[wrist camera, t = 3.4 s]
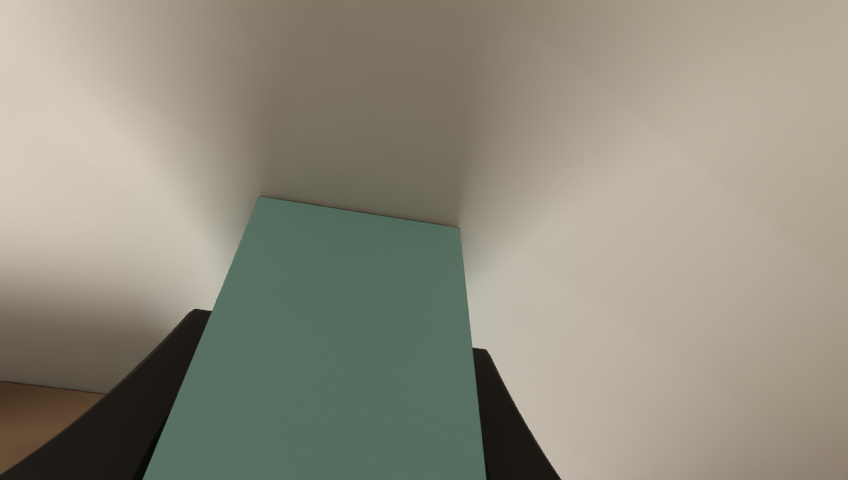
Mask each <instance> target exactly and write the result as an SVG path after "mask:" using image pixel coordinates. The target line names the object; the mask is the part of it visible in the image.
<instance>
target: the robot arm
mask: <svg viewBox="0 0 848 480" xmlns="http://www.w3.org/2000/svg"><path fill="white" fill-rule="evenodd" d="M211 313H212V311H207V310H200V309H194V310H192V311H191V312H189V313H188V314H187V315H186V316H185V317H184V319H183V320H182V321H181V322H180V323H179V324H178V325H177V326H176V327H175V328H174V330H173V331H172V332H171V333H170V334H169V335H168V336H167V337H166V338H165V339H164V340H163V341H162V342H161V343H160V344H159V345H158V346H157V347H156V348H155V349H154V350H153V351H152V352H151V353H150V354H149V355H148V356H147V357H146V358H145V359H144V360H143V361H142V362H141V363H140V364H139V365H138V366H137V367H136V368H134V369H133V370H132V371H131V372H130V373H129V374H128V375H127V376H126V377H125V378H124V379H123V380H122V381H121V382H120V383H119V384H117V385H116V386H115V387H114V388H113V389H112V390H111V391H110V392H108V393H107V394H106V395H105V396H104V397H102V398H101V399H100V400H99V401H98V402H96V403H95V404H94V405H93V406H92V407H91V408H89V409H88V410H87V411H86V412H85V413H83V414H82V415H81V416H80V417H79V418H77V419H76V420H75V421H74V422H72V423H71V424H70V425H69V426H67V427H66V428H65V429H63V430H62V431H61V432H60V433H58V434H57V435H56V436H54V437H53V438H52V439H50V440H49V441H48V442H46V443H45V444H44V445H42V446H41V447H39V448H38V449H37V450H35V451H34V452H32V453H31V454H30V455H28V456H27V457H25V458H24V459H23V460H21V461H20V462H18V463H17V464H15V465H14V466H12V467H11V468H9V469H8V470H6V471H4V472H3V473H1V474H0V480H143V478H144V475H145V473H146V470H147V468H148V465H149V463H150V461H151V458H152V456H153V453H154V451H155V448H156V446H157V444H158V441H159V439H160V436H161V434H162V432H163V429H164V427H165V424H166V422H167V419H168V417H169V415H170V412H171V410H172V407H173V405H174V402H175V400H176V398H177V395H178V393H179V390H180V388H181V385H182V383H183V381H184V378H185V376H186V373H187V371H188V368H189V366H190V364H191V361H192V359H193V356H194V354H195V351H196V349H197V347H198V344H199V342H200V339H201V337H202V334H203V332H204V330H205V327H206V325H207V322H208V320H209V317H210V315H211ZM472 350H473V359H474V369H475V378H476V387H477V397H478V406H479V416H480V425H481V434H482V444H483V453H484V463H485V472H486V480H561V479H560V477H559V476H558V474H557V473H556V471H555V470H554V468H553V467H552V465H551V464H550V462H549V461H548V459H547V458H546V456H545V454H544V453H543V451H542V450H541V448H540V446H539V445H538V443H537V441H536V440H535V438H534V436H533V435H532V433H531V431H530V430H529V428H528V426H527V425H526V423H525V421H524V420H523V418H522V416H521V414H520V412H519V411H518V409H517V407H516V405H515V403H514V401H513V400H512V398H511V396H510V394H509V392H508V390H507V388H506V386H505V384H504V382H503V381H502V379H501V377H500V375H499V373H498V370H497V368H496V366H495V364H494V362H493V360H492V358H491V356H490V354H489V353H488V352H487V350H486V349H478V348H472Z"/></svg>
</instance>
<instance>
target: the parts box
mask: <svg viewBox="0 0 848 480" xmlns="http://www.w3.org/2000/svg"><path fill="white" fill-rule="evenodd" d="M104 396H105V395H103V394H95V393H87V392H79V391H71V390H63V389H55V388H47V387H39V386H31V385H23V384H15V383H7V382H0V474H1V473H3V472H4V471H6V470H8V469H9V468H11V467H12V466H14V465H15V464H17V463H18V462H20V461H21V460H23V459H24V458H25V457H27V456H28V455H30V454H31V453H32V452H34V451H35V450H37V449H38V448H39V447H41V446H42V445H44V444H45V443H46V442H48V441H49V440H50V439H52V438H53V437H54V436H56V435H57V434H58V433H60V432H61V431H62V430H63V429H65V428H66V427H67V426H69V425H70V424H71V423H72V422H74V421H75V420H76V419H77V418H79V417H80V416H81V415H82V414H83V413H85V412H86V411H87V410H88V409H89V408H91V407H92V406H93V405H94V404H95V403H96V402H98V401H99V400H100V399H101V398H102V397H104Z"/></svg>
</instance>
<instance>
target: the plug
mask: <svg viewBox="0 0 848 480" xmlns="http://www.w3.org/2000/svg"><path fill="white" fill-rule="evenodd" d="M143 480H486V472H485V463H484V453H483V444H482V434H481V425H480V416H479V406H478V397H477V387H476V378H475V369H474V359H473V350H472V340H471V331H470V322H469V312H468V303H467V293H466V284H465V275H464V265H463V256H462V246H461V237H460V228H455V227H449V226H443V225H436V224H430V223H424V222H418V221H411V220H405V219H399V218H392V217H386V216H380V215H373V214H367V213H361V212H354V211H348V210H342V209H336V208H329V207H323V206H317V205H310V204H304V203H298V202H291V201H285V200H279V199H272V198H266V197H260V196H259V199H258V201H257V203H256V206H255V208H254V211H253V213H252V216H251V218H250V220H249V223H248V225H247V228H246V230H245V233H244V235H243V237H242V240H241V242H240V245H239V247H238V250H237V252H236V254H235V257H234V259H233V262H232V264H231V267H230V269H229V271H228V274H227V276H226V279H225V281H224V284H223V286H222V288H221V291H220V293H219V296H218V298H217V300H216V303H215V305H214V308H213V310H212V313H211V315H210V317H209V320H208V322H207V325H206V327H205V330H204V332H203V334H202V337H201V339H200V342H199V344H198V347H197V349H196V351H195V354H194V356H193V359H192V361H191V364H190V366H189V368H188V371H187V373H186V376H185V378H184V381H183V383H182V385H181V388H180V390H179V393H178V395H177V398H176V400H175V402H174V405H173V407H172V410H171V412H170V415H169V417H168V419H167V422H166V424H165V427H164V429H163V432H162V434H161V436H160V439H159V441H158V444H157V446H156V448H155V451H154V453H153V456H152V458H151V461H150V463H149V465H148V468H147V470H146V473H145V475H144V478H143Z"/></svg>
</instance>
